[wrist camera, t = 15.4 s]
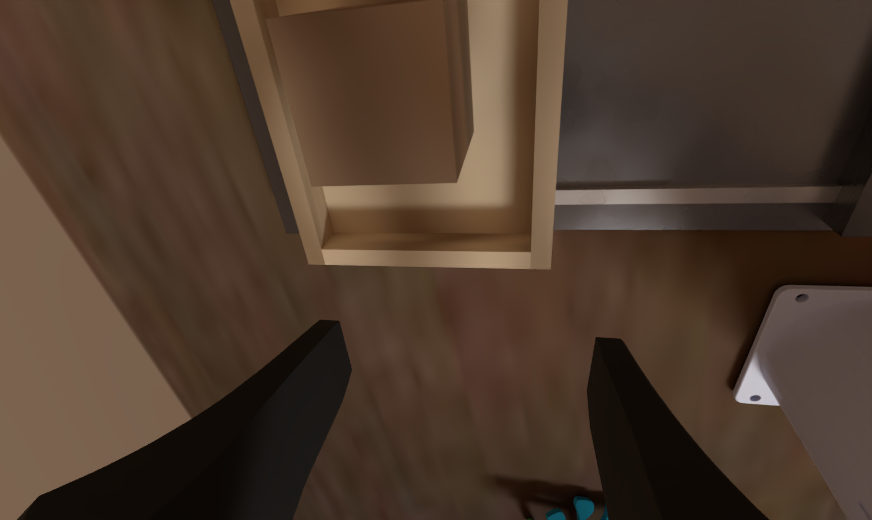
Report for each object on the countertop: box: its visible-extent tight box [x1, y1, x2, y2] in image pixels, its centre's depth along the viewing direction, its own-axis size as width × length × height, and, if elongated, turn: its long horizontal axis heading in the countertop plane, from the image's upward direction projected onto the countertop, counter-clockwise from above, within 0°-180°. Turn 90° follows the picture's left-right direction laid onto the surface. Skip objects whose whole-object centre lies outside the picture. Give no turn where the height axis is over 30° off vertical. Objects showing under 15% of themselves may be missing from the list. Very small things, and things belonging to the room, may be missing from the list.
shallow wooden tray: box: [230, 0, 568, 269], centre depth 15 cm, size 11×16×3 cm
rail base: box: [212, 0, 872, 237], centre depth 16 cm, size 25×16×2 cm, turn 96°
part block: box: [266, 0, 474, 187], centre depth 13 cm, size 4×4×5 cm
